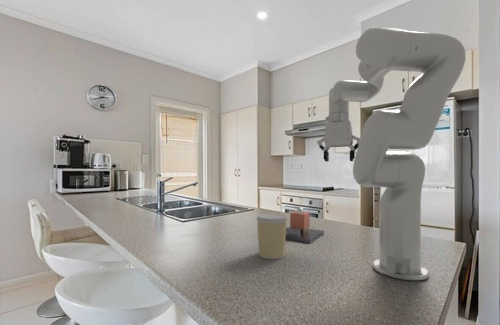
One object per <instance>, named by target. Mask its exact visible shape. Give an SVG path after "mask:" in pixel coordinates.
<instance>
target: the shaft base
mask: <svg viewBox="0 0 500 325" xmlns="http://www.w3.org/2000/svg"><path fill="white" fill-rule="evenodd" d="M296 211H297V213H300V214H303V212H304V208H303V207H301V206H298V207H296ZM324 235H325V231H324V230H319V229H313V228H307V229H305V230H302V229H301V228H295V227H290V226H286V237H285V241H286V240H287V241H291V242H292V241H294V242H299V243H304V244H312V243H314V242H315V241H316V240H318V239H319V238H321V237H322V236H324Z"/></svg>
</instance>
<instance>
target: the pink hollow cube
mask: <svg viewBox="0 0 500 325" xmlns="http://www.w3.org/2000/svg"><path fill="white" fill-rule="evenodd" d="M289 214H290V215H289V217H290V218H289V220H290V222H289V224H290V226H289V227H295V228H301V229H302V230H305V229H307V228H308V229H310V226H311V219H310V218H311V213H310V211H309V212H307V211H303V214H300V213H297V210H295V211H292V212H289Z"/></svg>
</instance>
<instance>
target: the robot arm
mask: <svg viewBox="0 0 500 325" xmlns="http://www.w3.org/2000/svg"><path fill="white" fill-rule="evenodd" d="M355 54H356V57H357V59H358V60H360V61H359V64H358V67H357V71H358V74H359V76H360V77H361V78H362V79H363V81H361V80H347V79H346V80H339V81H337V82H336V83H335V84H334V85H333V87H332V88H330V89H329V92H328V116H325V121H327V122H326V126H325V133H324V137H323V138H321V139H319V140H317V142H316V143H317V145H318V147H319V149H320V150H322V152H323V160H324V162H330V159H329V156H330V154H329V150H330V148H342V147H343V148H344V147H348V148H349V149H350V150H349V161H350V162H353V164H352V175H353V178H354V180H355V182H356V183H357V184H358V185H360V186H361V187H365V188H385V190H384V191H383V192H382V194H381V197H380V199H379V207H378V208H379V209H378V210H379V213H378V214H379V216H378V220H379V222H378V223H379V225H378V227H379V228H378V230H379V231H378V232H379V233H378V234H379V238H378V239H379V243H378V244H379V246H378V247H379V248H378V249H379V257H378V259H375V260H373V261H372V264H373V265H372V267H373V268H374V269H375V270H374V271H376V272H378V273H380V274H382V275H384V276H388V277H391V278H393V279H398V280H404V281H422V280H426V279H427V278H428V277H429V271H428V269H426V267H424V266H422V247H421V246H422V238H421V236H422V232H421V231H422V230H421V229H422V228H421V226H422V225H421V223H422V222H421V221H422V220H421V217H422V216H421V214H422V213H421V209H422V208H421V202H422V201H421V200H422V192H423V191H422V189H423V185H424V180H425V175H426V167H425V162H424V161H423V159H422V158H421V157H420V156H419V155H417V154H416V153H413V152H410V150H411V151H414V150H420V149H424V148H425V147H427V146H428V144H429V143H430V142H431V139H432V137H433V135H434V133H435V130H436V128H437V126H438V124H439V121H440V117H441V115H442V113H443V111H444V108H445V106H446V102H447V100H448V97H449V96H450V94H451V91H452V90H453V88H454V87H455V84H456V83H457V81H458V79H459V78H460V76H461V74H462V71H463V69H464V67H465V62H466V49H465V46H464V45H463V43H462V42H461V41H460V40H459V39H457V38H456V37H453V36H452V35H447V34H443V33H437V32H435V33H433V32H420V31H409V30H405V29H400V28H393V27H392V28H390V27H382V26H381V27H380V26H379V27H378V26H377V27H376V26H373V27H370V28H368V29H366V30H364V31H363V33H362V34H361V35H360V37H359V38H358V40H357V43H356V45H355ZM390 71H397V72H398V71H401V72H402V71H403V72H417V73H418V72H420V73H421V74H420V75H419V76H418V77H417V78H416V79H415V80H414V81H413V82H412V83H411V84H410V85H409V87H408V88H407V89H406V91H405V93H404V96H403V99H402V102H401V105H400V107H399V108H398V109H396V110H394V109H393V110H392V109H382V110H378V111H377V110H376V111H375V112H373V113H372V114H371V115H370V116H369V117H368V118H367V119H366V121H365V123H364V125H363V128H362V132H361V134H360V137H357V136H356V135H353V128H352V122H351V120H350V117H349V116H350V114H349V113H350V112H349V111H350V110H349V109H350V108H349V106H350V105H349V104H350V102H353V103H364V102H368V101H370V100H371V99H373V98H374V97H375V96H377V95H378V94H379V93H380V91H381V89H382V88H383V85H384V81H385V80H384V79H385V76H387V74H388V73H390ZM353 140H354V141H356V144H354V143H353V142H354V141H353ZM323 143H324V145H325V146H324V145H323ZM353 144H354V145H353ZM388 150H391V151H388ZM392 150H393V151H392ZM395 150H398V151H395ZM399 150H405V151H399ZM407 150H409V152H408V151H407Z"/></svg>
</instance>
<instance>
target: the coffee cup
mask: <svg viewBox="0 0 500 325" xmlns="http://www.w3.org/2000/svg"><path fill="white" fill-rule="evenodd" d="M256 221H257V239H258V241H257V243H258V253H259V254H258V255H259V257H261V258H263V259H266V260H279V259H282V258H284V257H285V248H286V247H285V246H286V239H285V237H286V228H287V222H288V219H287V216H286V215H284V214H277V213H261V214H259V215H258V216H257V218H256Z"/></svg>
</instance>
